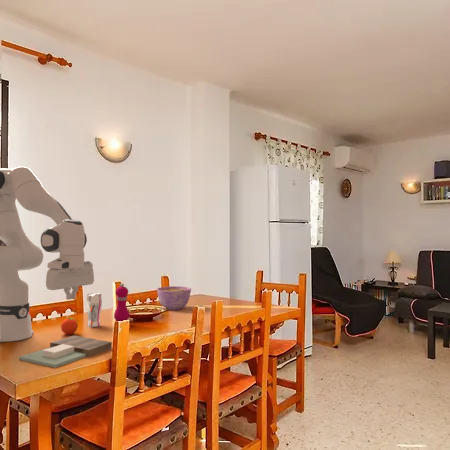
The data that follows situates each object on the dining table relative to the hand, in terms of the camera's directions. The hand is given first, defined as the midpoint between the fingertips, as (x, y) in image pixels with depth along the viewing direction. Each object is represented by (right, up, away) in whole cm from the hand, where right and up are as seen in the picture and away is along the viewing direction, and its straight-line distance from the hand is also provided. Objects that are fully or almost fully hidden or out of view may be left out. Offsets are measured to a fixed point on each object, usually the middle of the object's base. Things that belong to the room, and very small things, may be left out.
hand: (70, 298), depth 158 cm
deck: (+3, -20, +3) cm, 20 cm away
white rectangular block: (-2, -19, -6) cm, 20 cm away
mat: (-3, -20, -8) cm, 22 cm away
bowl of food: (+29, -21, +85) cm, 92 cm away
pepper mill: (+8, -20, +43) cm, 48 cm away
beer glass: (-4, -20, +41) cm, 46 cm away
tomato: (-10, -20, +25) cm, 34 cm away
